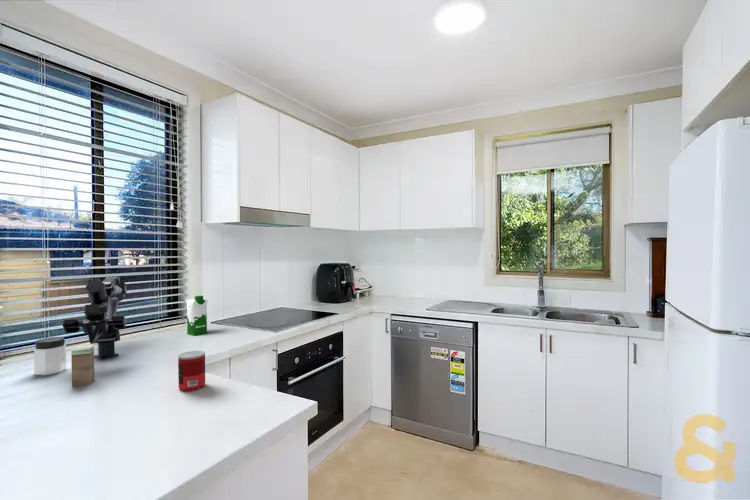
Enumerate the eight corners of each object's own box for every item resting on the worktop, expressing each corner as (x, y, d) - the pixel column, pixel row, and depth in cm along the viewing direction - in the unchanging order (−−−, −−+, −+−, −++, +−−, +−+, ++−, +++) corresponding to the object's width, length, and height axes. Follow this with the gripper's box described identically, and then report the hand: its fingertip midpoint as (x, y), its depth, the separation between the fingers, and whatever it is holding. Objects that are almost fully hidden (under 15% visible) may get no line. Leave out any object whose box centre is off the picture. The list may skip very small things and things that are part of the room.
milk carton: (193, 336, 190) (193, 297, 190) (184, 334, 195) (184, 296, 195) (209, 333, 197) (209, 295, 197) (200, 330, 202) (200, 294, 202)
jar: (58, 374, 135) (58, 341, 134) (30, 377, 132) (30, 343, 132) (69, 366, 143) (69, 335, 143) (43, 369, 140) (42, 337, 140)
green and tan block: (76, 381, 127) (76, 346, 127) (94, 379, 129) (94, 345, 129) (71, 386, 123) (71, 350, 122) (90, 384, 125) (90, 348, 125)
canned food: (210, 384, 124) (210, 351, 124) (191, 393, 117) (191, 358, 117) (192, 381, 127) (192, 349, 127) (173, 390, 119) (172, 356, 119)
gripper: (63, 297, 136) (53, 333, 126) (124, 294, 144) (118, 328, 134) (70, 315, 143) (61, 350, 134) (128, 311, 151) (123, 344, 141)
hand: (91, 343), depth 135 cm, fingers closed
